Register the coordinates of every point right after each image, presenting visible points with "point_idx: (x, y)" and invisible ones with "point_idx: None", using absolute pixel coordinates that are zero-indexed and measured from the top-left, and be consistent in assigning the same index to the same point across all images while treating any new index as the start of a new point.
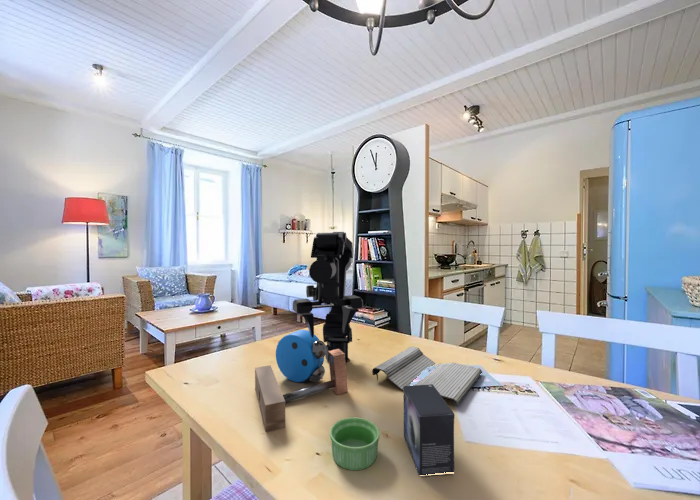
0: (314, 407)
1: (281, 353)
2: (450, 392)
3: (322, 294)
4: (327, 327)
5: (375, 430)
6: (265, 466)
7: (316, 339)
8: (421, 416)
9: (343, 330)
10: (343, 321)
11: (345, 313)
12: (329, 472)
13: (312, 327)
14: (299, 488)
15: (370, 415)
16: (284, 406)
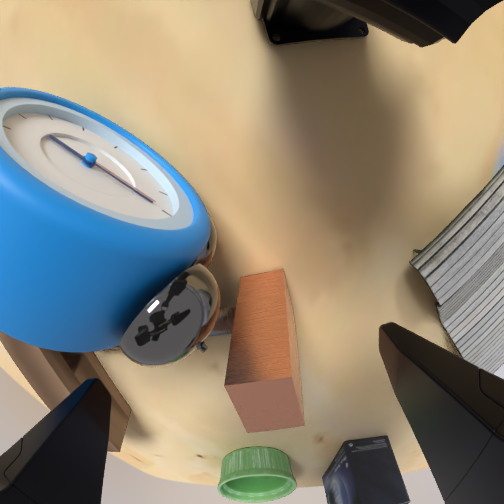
0: (183, 366)
1: None
2: (492, 365)
3: None
4: None
5: (291, 483)
6: (131, 455)
7: (131, 277)
8: None
9: (387, 358)
10: (433, 401)
11: (477, 490)
12: (216, 473)
13: (93, 483)
14: (181, 479)
15: (316, 402)
16: (120, 443)
